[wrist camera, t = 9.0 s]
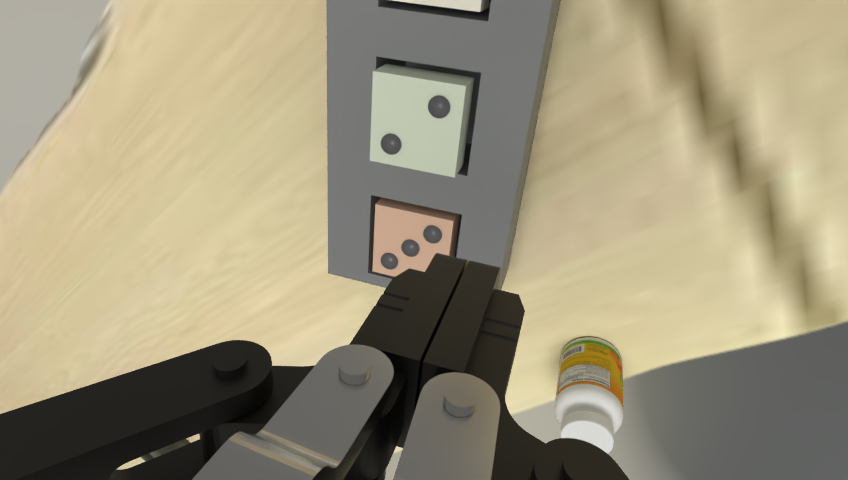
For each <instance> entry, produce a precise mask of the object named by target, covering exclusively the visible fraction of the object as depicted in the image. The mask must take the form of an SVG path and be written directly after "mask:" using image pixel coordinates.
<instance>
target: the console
mask: <svg viewBox="0 0 848 480" xmlns="http://www.w3.org/2000/svg"><path fill="white" fill-rule="evenodd" d="M559 5H560V0H489V4H488V8H487V9H485V10H483V11H481V12H476V11H468V10H460V9H453V8H445V7H438V6H430V5H423V4H415V3H407V2H400V1H392V0H327V135H328V273H329V274H333V275H337V276H341V277H345V278H349V279H353V280H357V281H361V282H365V283H369V284H373V285H377V286H381V287H385V288H387V286H388V285H389V283H390V282H391V280H392V279H393V278H394V276H389V275H385V274H381V273H377V272H373V271H372V270H373V247H374V224H375V204H376V203H377V202H378V201H379V200H380V198H381V197H383V198H387V199H392V200H397V201H401V202H406V203H411V204H415V205H420V206H425V207H429V208H434V209H438V210H443V211H448V212H452V213H457V214H460V220H459V228H458V235H457V243H456V250H455V257H457V258H461V259H466V260H468V262H469V261H475V262H479V263H483V264H487V265H492V266H496V267H500V268H501V272H500V278H499V284H498V289H497V290H501V289H502V286H503V283H504V280H505V276H506V273H507V270H508V266H509V261H510V255H511V250H512V245H513V240H514V235H515V230H516V225H517V220H518V214H519V209H520V204H521V199H522V194H523V189H524V184H525V179H526V174H527V168H528V163H529V158H530V153H531V148H532V143H533V138H534V133H535V127H536V122H537V117H538V112H539V107H540V102H541V97H542V92H543V86H544V81H545V76H546V71H547V66H548V61H549V56H550V51H551V46H552V40H553V35H554V30H555V25H556V20H557V15H558V10H559ZM385 64H392V65H398V66H404V67H410V68H417V69H423V70H429V71H436V72H442V73H448V74H455V75H461V76H467V77H474V85H473V93H472V100H471V108H470V116H469V124H468V131H467V139H466V147H465V154H464V162H463V166H462V167H461V169H460V170H459V172H458V173H457V175H456V176H455V178H454V177H449V176H444V175H439V174H434V173H429V172H424V171H419V170H414V169H409V168H404V167H399V166H394V165H389V164H384V163H379V162H374V161H370V137H371V109H372V82H373V71H374V70H376V69H377V68H379V67H381V66H383V65H385Z"/></svg>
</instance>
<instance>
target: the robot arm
mask: <svg viewBox="0 0 848 480" xmlns="http://www.w3.org/2000/svg"><path fill="white" fill-rule="evenodd" d="M500 272H501V268H500V267H496V266H492V265H487V264H483V263H479V262H475V261H469V262H468V260H466V259H461V258H457V257H453V256H448V255H444V254H440V253H436V254H435V255H434V257H433V259H432V260H431V262H430V264H429V266H428V267H427V269H426V271H425V272H423V271H419V270H414V269H410V268H409V269H407V270H406V271H404V272H402V273H401V274H399V275H397V276H395V277H394V278H393V279H392V280H391V282H390V283H389V285H388V286H387V288H386V289H385V291H384V294H382V296H381V297H380V299H379V300H378V302H377V304H376V306H374V308H373V309H372V311H371V312H370V314H369V315H368V317H367V318H366V320H365V322H364V323H363V325H362V326H361V328H360V329H359V331H358V332H357V334H356V335H355V337H354V338H353V340H352V341H351V343H350V344H349V345H345V346H341V347H338V348H335V349H333V350H331V351H329V352H328V353H327V354H325V355H324V356H323V357H322V358H321V359H320V360H319V362H318V363H317V364H316V365H315V366H304V367H297V366H272V361H271V356H270V354H269V353H268V351H267V350H266V349H265V348H264V347H262V346H261V345H259V344H257V343H254V342H250V341H244V340H232V341H226V342H222V343H218V344H215V345H212V346H209V347H206V348H203V349H200V350H197V351H194V352H190V353H187V354H184V355H181V356H178V357H175V358H172V359H169V360H166V361H163V362H160V363H157V364H153V365H150V366H147V367H144V368H141V369H138V370H135V371H132V372H129V373H126V374H123V375H120V376H117V377H113V378H110V379H107V380H104V381H101V382H98V383H95V384H92V385H89V386H86V387H83V388H80V389H76V390H73V391H70V392H67V393H64V394H61V395H58V396H55V397H52V398H49V399H46V400H43V401H39V402H36V403H33V404H30V405H27V406H24V407H21V408H18V409H15V410H12V411H9V412H6V413H2V414H0V480H384V479H385V475H386V467H387V466H388V464H389V461H390V459H391V457H392V454H393V452H394V450H395V447H396V446H398V447H401V448H403V450H402V453H401V457H400V460H399V463H398V466H397V469H396V472H395V476H394V479H393V480H629V479H628V477H627V476H626V475H625V473H624V472H623V471H622V469H621V468H620V467H619V466H618V464H617V463H616V462H615V461H614V460H613V459H612V458H611V457H610V456H609V455H608V454H607V453H606V452H605V451H603V450H602V449H600V448H599V447H597V446H595V445H593V444H591V443H589V442H586V441H583V440H579V439H574V438H560V439H555V440H552V441H550V442H548V443H546V444H545V443H544V442H542V441H540V440H539V439H537V438H535V437H534V436H532V435H531V434H529V433H528V432H526V431H525V430H523V429H522V428H521V427H520V426H519V425H518V424H517V423H516V422H515V421H514V419H513V418H512V416H511V415H510V413H509V411H508V409H507V406H506V403H505V394H506V390H507V386H508V382H509V377H510V373H511V369H512V365H513V361H514V356H515V352H516V347H517V343H518V338H519V334H520V330H521V325H522V321H523V316H524V312H525V310H524V307H523V305H522V302H521V300H520V297H519V295H518V294H514V293H509V292H505V291H501V290H497V289H498V284H499V278H500ZM198 433H199V434H200V440H197V441H195V442H192V443H190V444H187V445H185V446H182V447H180V448H178V449H175V450H173V451H170V452H168V453H165V454H163V455H160V456H158V457H156V458H153V459H151V460H148V461H146V462H143V463H141V464H138V465H136V466H134V467H131V468H128V469H123V470H116V469H117V468H118V467H120V466H121V465H123V464H125V463H127V462H129V461H131V460H134V459H136V458H139V457H141V456H144V455H146V454H149V453H151V452H154V451H156V450H159V449H161V448H164V447H166V446H169V445H171V444H174V443H176V442H179V441H181V440H183V439H186V438H188V437H191V436H193V435H196V434H198Z"/></svg>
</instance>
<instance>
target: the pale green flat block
mask: <svg viewBox="0 0 848 480" xmlns="http://www.w3.org/2000/svg"><path fill="white" fill-rule="evenodd" d="M473 85H474V77H467V76H461V75H455V74H448V73H442V72H436V71H429V70H423V69H417V68H410V67H404V66H398V65H392V64H385V65H383V66H381V67H379V68H377V69H376V70H374V71H373V82H372V109H371V137H370V161H374V162H379V163H384V164H389V165H394V166H399V167H404V168H409V169H414V170H419V171H424V172H429V173H434V174H439V175H444V176H449V177H454V178H455V176H456V175H457V173H458V172H459V170H460V169H461V167H462V166H463V162H464V154H465V147H466V139H467V131H468V124H469V116H470V108H471V100H472V93H473Z"/></svg>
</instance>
